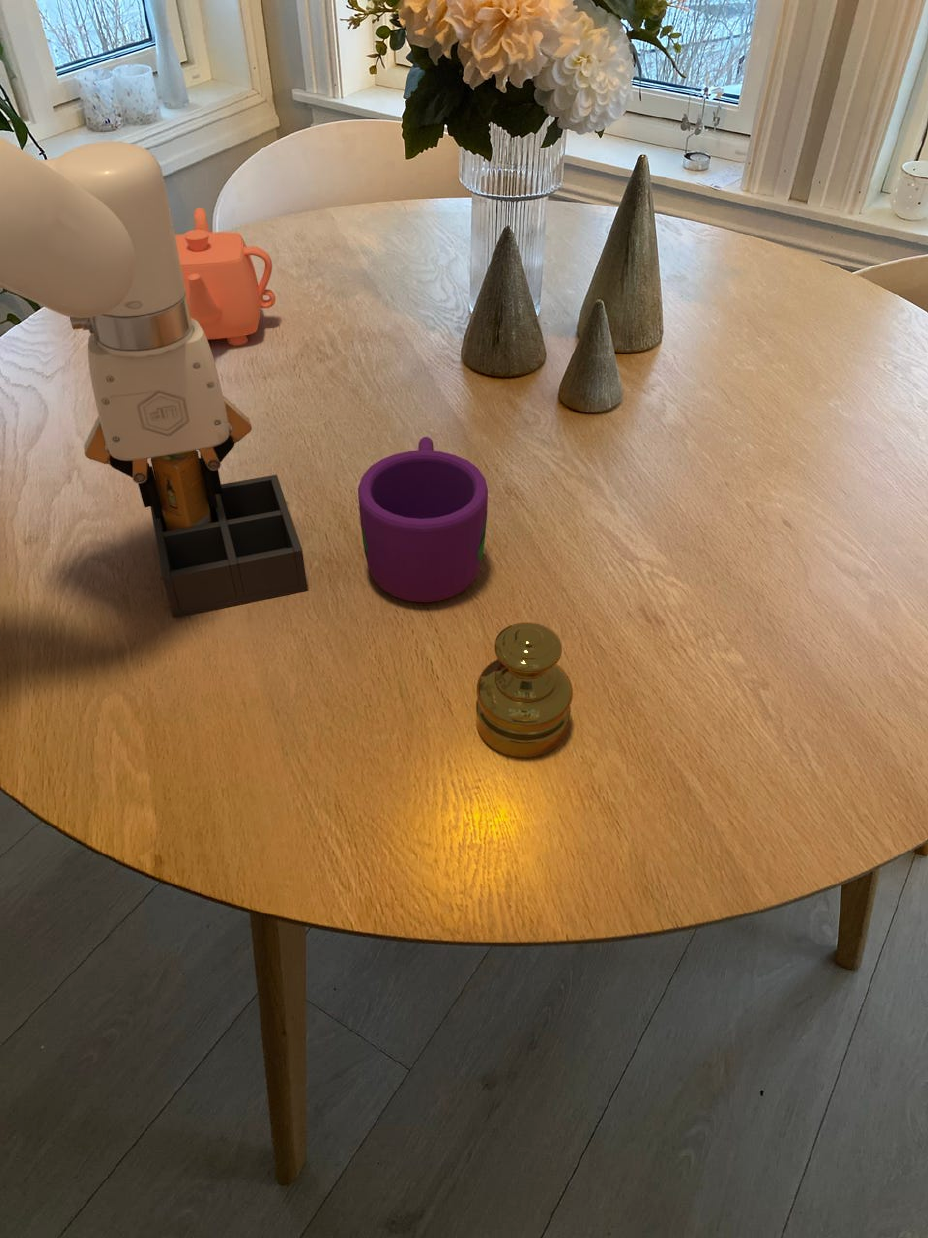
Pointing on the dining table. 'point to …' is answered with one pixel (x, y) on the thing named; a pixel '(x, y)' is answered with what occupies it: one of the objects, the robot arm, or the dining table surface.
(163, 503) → the supplement box
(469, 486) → the mug
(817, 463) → the dining table surface
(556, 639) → the brass knobbed weight
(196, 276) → the teapot
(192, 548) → the rack
